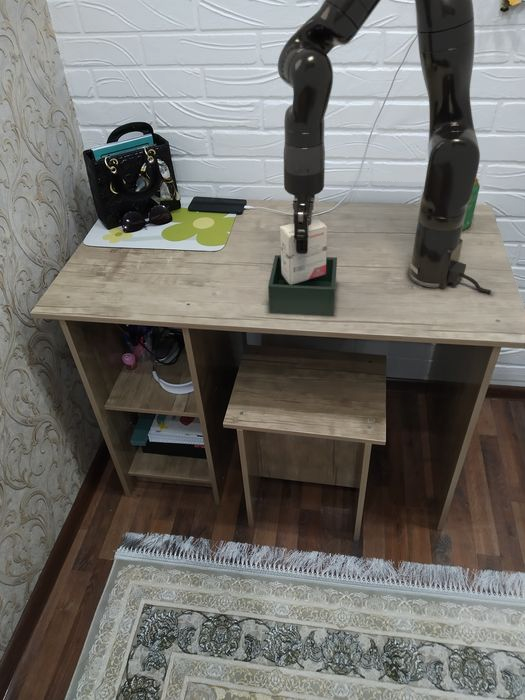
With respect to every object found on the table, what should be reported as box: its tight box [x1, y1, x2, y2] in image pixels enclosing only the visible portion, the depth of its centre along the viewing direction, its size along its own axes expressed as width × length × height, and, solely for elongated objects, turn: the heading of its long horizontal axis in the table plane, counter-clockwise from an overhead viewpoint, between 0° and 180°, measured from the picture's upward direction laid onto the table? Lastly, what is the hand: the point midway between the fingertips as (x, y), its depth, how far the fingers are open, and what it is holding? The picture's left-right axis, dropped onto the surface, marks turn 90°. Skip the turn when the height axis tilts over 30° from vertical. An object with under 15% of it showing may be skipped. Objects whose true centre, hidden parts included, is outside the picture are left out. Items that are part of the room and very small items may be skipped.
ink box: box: [279, 216, 328, 285], centre depth 117 cm, size 9×5×12 cm, turn 113°
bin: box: [267, 254, 338, 317], centre depth 123 cm, size 14×12×7 cm
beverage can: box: [462, 177, 481, 232], centre depth 140 cm, size 8×8×12 cm
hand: (303, 242), depth 116 cm, fingers closed on ink box, 7 cm apart
